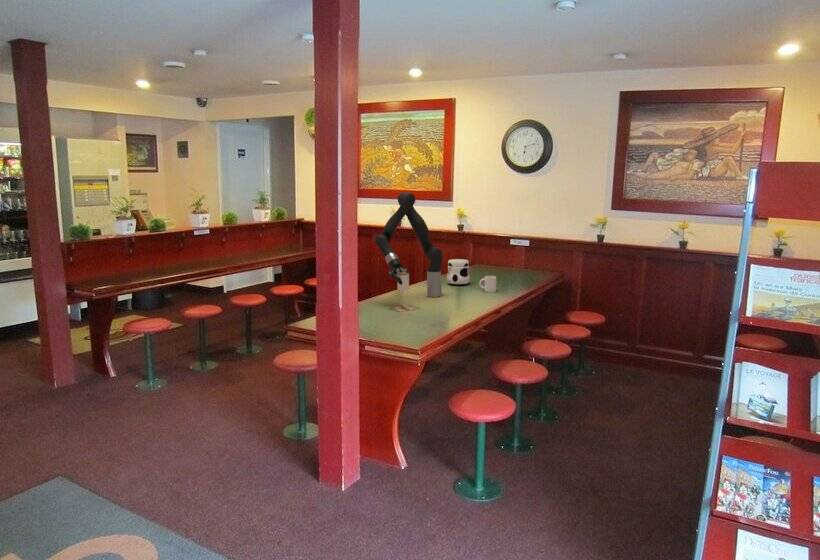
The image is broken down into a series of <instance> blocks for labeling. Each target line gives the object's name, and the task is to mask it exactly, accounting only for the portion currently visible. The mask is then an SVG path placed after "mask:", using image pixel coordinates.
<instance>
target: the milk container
mask: <svg viewBox="0 0 820 560" xmlns="http://www.w3.org/2000/svg"><path fill="white" fill-rule="evenodd" d="M469 262H470V261H469V260H468V259H463V258H462V259H461V258H453V259H452V258H451V259H449V260H448V261H447V274H446V283H448V284H449V285H453V286H465V285H469V283H470V280H471V277H470V272H469V271H470V265H469V264H470V263H469Z"/></svg>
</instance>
